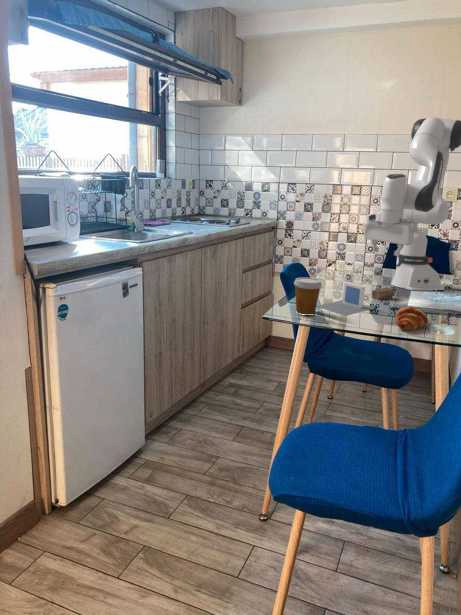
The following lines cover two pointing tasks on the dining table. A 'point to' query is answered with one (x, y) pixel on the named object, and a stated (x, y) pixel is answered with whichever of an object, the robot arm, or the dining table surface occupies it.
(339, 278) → the dining table surface
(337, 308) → the slate board
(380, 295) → the wooden handled scraper
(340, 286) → the dining table surface
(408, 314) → the croissant
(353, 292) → the tile
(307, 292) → the disposable coffee cup
